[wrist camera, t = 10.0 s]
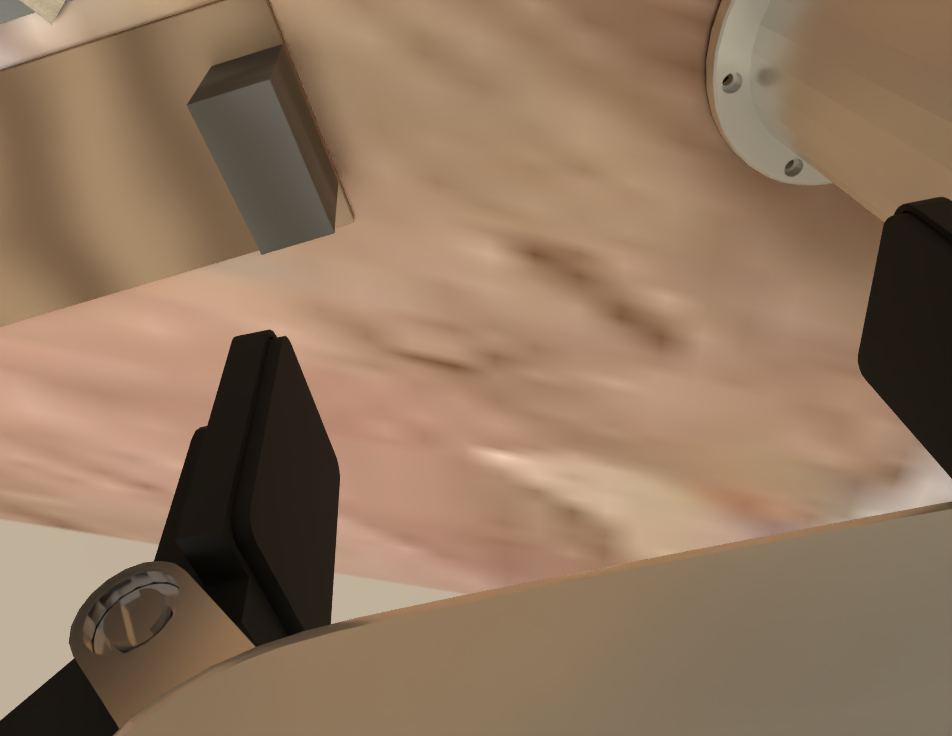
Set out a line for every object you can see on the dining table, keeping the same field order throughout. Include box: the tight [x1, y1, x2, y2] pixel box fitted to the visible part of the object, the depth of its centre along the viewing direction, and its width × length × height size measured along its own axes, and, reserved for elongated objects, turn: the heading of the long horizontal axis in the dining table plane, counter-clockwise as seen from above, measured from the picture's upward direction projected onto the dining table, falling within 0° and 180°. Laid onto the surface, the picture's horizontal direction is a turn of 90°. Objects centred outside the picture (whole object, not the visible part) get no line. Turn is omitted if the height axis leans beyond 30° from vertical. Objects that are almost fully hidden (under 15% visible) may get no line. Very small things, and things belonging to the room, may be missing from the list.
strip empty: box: [0, 0, 354, 327], centre depth 29 cm, size 24×10×6 cm, turn 104°
